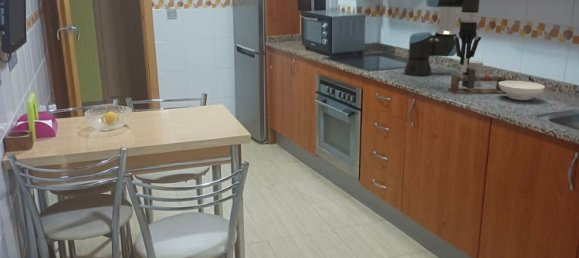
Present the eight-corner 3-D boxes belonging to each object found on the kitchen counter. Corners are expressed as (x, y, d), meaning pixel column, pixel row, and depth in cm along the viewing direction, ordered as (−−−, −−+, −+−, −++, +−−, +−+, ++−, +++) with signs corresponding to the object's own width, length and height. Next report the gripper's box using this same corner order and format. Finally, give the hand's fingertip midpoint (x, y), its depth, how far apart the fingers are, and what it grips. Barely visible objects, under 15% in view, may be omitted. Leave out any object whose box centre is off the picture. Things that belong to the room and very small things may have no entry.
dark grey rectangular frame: (468, 88, 256) (470, 69, 253) (462, 85, 264) (463, 67, 261) (473, 88, 256) (475, 69, 254) (466, 85, 264) (468, 67, 261)
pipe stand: (454, 93, 256) (456, 75, 254) (448, 90, 264) (449, 72, 261) (506, 93, 258) (509, 75, 256) (499, 90, 266) (501, 73, 264)
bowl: (519, 105, 234) (521, 90, 233) (487, 96, 252) (489, 82, 250) (552, 102, 242) (554, 87, 240) (518, 93, 259) (520, 79, 257)
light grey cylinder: (481, 86, 274) (483, 63, 271) (464, 86, 276) (466, 62, 272) (478, 84, 282) (481, 61, 278) (462, 83, 283) (465, 60, 280)
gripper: (458, 22, 247) (453, 73, 253) (485, 22, 248) (480, 73, 254) (452, 20, 254) (447, 70, 261) (478, 21, 255) (473, 70, 262)
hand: (463, 71), depth 257 cm, fingers closed
